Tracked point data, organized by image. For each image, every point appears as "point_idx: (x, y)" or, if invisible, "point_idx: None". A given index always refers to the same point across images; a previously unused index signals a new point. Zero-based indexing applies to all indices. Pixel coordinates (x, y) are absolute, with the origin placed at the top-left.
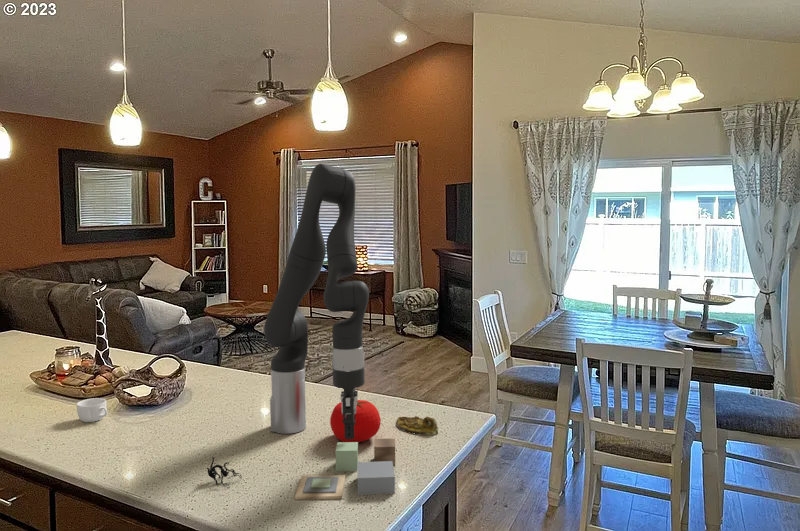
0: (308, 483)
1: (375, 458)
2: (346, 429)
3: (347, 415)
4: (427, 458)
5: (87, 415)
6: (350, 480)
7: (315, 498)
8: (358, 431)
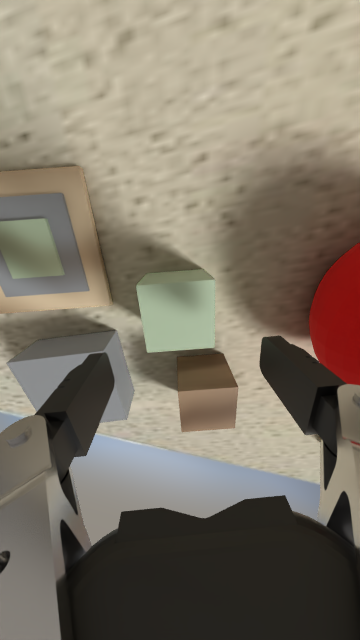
0: (20, 207)
1: (177, 371)
2: (50, 399)
3: (293, 373)
4: (215, 433)
5: None
6: (100, 316)
7: None
8: (317, 333)
